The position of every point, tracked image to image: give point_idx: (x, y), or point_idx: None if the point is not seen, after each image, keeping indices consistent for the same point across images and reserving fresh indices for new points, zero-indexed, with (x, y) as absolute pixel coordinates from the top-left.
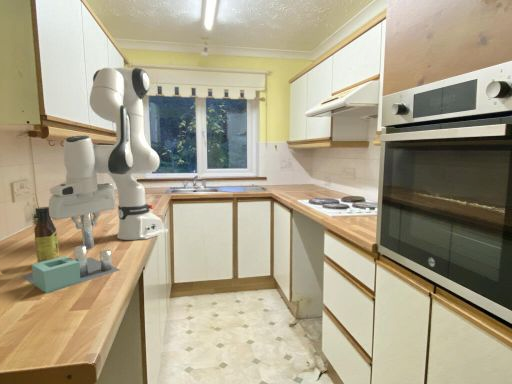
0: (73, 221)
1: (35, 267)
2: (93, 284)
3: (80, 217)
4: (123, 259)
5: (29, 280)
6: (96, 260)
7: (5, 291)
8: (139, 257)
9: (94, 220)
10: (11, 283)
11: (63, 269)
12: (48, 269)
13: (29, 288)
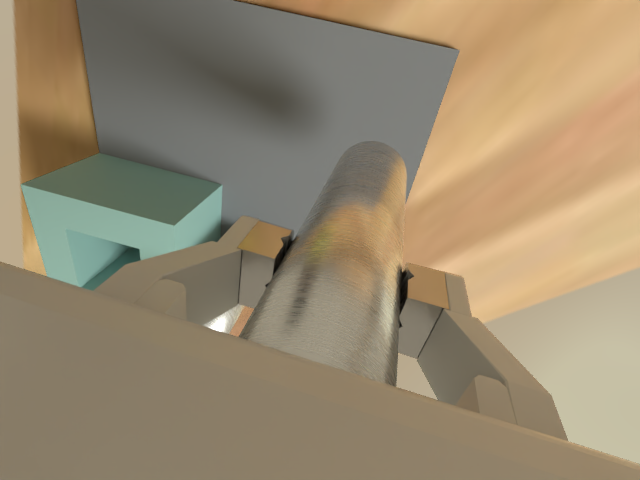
0: (174, 254)
1: (37, 227)
2: (242, 316)
3: (239, 336)
4: (502, 244)
5: (94, 86)
6: (419, 146)
7: (19, 89)
8: (551, 294)
9: (421, 355)
10: (39, 9)
11: None
12: None
13: (91, 151)
